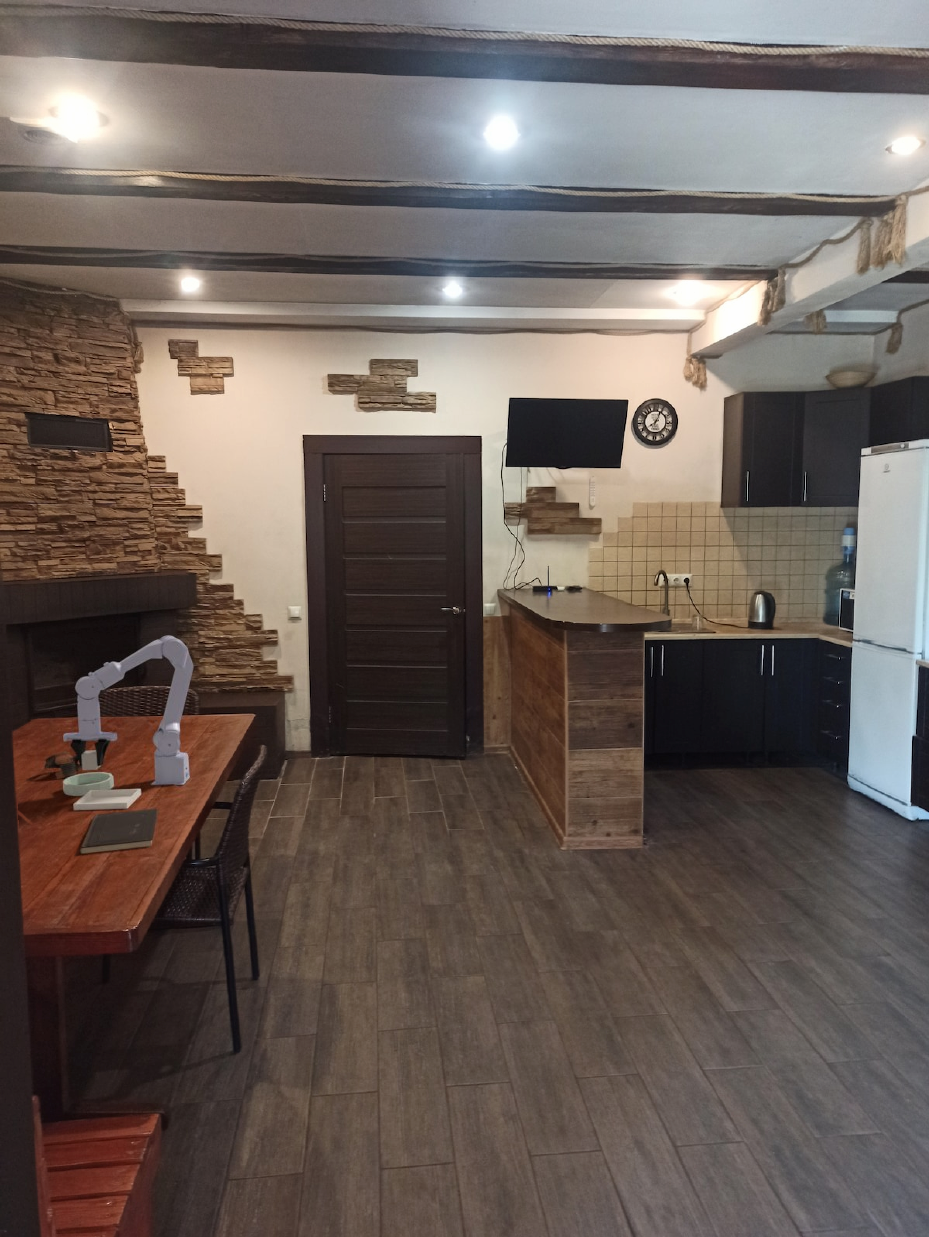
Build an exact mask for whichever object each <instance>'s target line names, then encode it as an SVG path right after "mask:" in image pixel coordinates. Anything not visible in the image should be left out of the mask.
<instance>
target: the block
mask: <svg viewBox="0 0 929 1237" xmlns="http://www.w3.org/2000/svg"><path fill="white" fill-rule="evenodd" d="M100 767H101V766H98V764H97V753H96V749H95V750H92V749H91V750H86V751H85V752H84V753H83V754H82V768H81V769H82V771H95V770H97V771H98V770H99V768H100Z"/></svg>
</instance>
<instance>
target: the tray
mask: <svg viewBox="0 0 929 1237" xmlns="http://www.w3.org/2000/svg"><path fill="white" fill-rule="evenodd" d="M141 795H142V789H141V788H130V789H129V788H127V789H126V788H124V789H119V788H118V789H110V790H90V791H89V792H88V793H86V794H85V795H84V796H81V797H80V798H79V799H78V800H77V801H75V802H74V803H73V811H92V810H97V811H98V810H122V809H123V810H125V809H129V807H130V806H131V805H132V804H133V803H134V802H136V800H138V799H139V798H140V796H141Z"/></svg>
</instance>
